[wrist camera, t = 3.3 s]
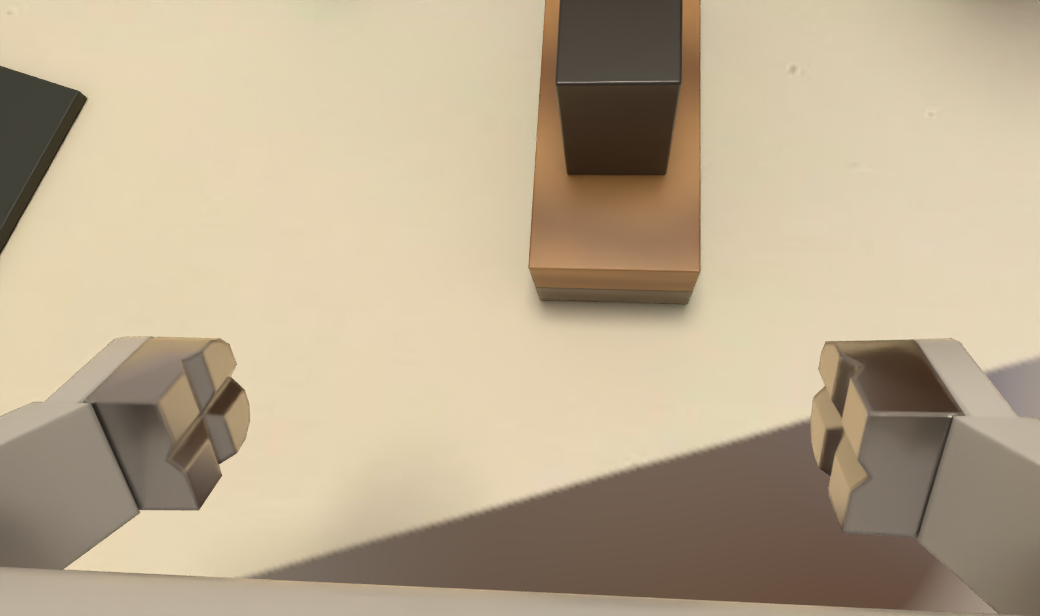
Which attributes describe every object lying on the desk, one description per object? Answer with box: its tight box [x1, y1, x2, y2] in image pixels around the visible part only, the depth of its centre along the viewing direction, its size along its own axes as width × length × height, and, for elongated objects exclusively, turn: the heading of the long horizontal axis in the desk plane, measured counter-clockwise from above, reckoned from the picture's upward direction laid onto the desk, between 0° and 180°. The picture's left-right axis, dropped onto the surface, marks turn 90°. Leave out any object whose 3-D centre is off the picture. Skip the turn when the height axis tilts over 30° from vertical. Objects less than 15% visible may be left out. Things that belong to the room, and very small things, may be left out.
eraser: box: [529, 0, 700, 304], centre depth 22 cm, size 12×5×8 cm, turn 176°
